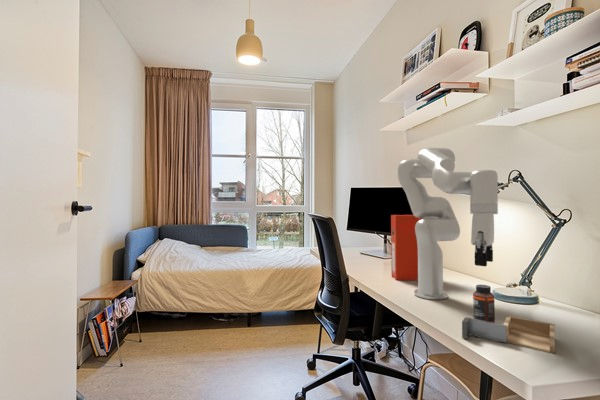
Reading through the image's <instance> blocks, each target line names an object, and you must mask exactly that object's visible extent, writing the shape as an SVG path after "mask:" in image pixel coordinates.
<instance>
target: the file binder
mask: <svg viewBox="0 0 600 400" xmlns="http://www.w3.org/2000/svg"><path fill="white" fill-rule="evenodd" d="M419 220H421V218H416V217H415V216H414V214H402V215H401V214H391V215H390V232H391V234H390V236H391V238H390V239H391V240H390V241H391V244H390V245H391V248H390V249H391V250H390V253H391V256H390V257H391V260H390V261H391V263H390V264H391V277H392V278H393V279H394V278H395V279H396V280H395V279H394V280H395V281H407V280H408V281H418V246H417V238H416V233H415V225H416V223H417V222H418V221H419Z"/></svg>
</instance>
